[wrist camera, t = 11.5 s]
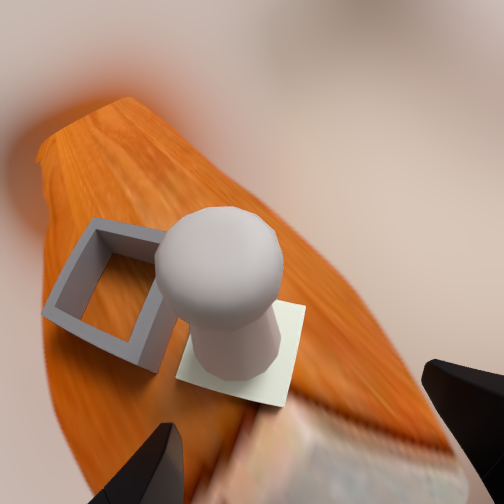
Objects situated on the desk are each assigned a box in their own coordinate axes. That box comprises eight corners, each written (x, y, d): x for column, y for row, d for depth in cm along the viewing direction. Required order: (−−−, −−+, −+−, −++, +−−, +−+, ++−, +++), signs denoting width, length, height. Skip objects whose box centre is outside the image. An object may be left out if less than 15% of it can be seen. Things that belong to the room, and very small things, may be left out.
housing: (157, 373, 19) (137, 364, 15) (66, 330, 20) (40, 314, 17) (198, 262, 24) (189, 236, 21) (109, 241, 25) (93, 216, 22)
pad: (282, 407, 17) (284, 407, 16) (178, 379, 18) (175, 377, 18) (304, 310, 21) (306, 306, 21) (209, 289, 23) (207, 283, 22)
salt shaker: (185, 361, 18) (90, 281, 7) (220, 298, 21) (186, 164, 10) (258, 397, 17) (263, 378, 6) (290, 328, 20) (333, 210, 9)
